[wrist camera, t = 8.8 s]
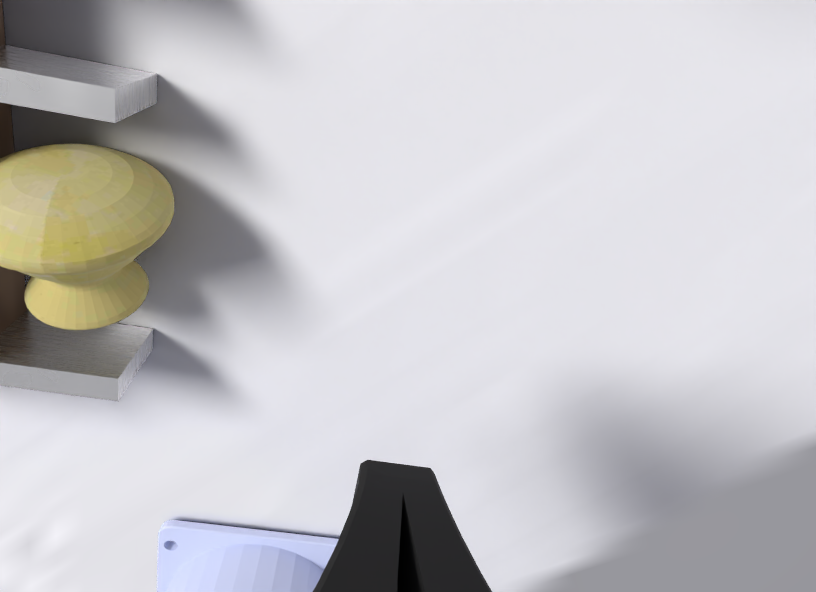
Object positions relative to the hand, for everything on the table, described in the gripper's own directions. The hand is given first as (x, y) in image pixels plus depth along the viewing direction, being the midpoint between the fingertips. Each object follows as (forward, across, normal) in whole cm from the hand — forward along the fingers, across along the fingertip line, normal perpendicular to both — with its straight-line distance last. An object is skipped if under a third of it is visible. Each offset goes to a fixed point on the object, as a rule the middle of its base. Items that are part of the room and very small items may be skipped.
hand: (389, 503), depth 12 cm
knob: (+10, +9, -1) cm, 13 cm away
